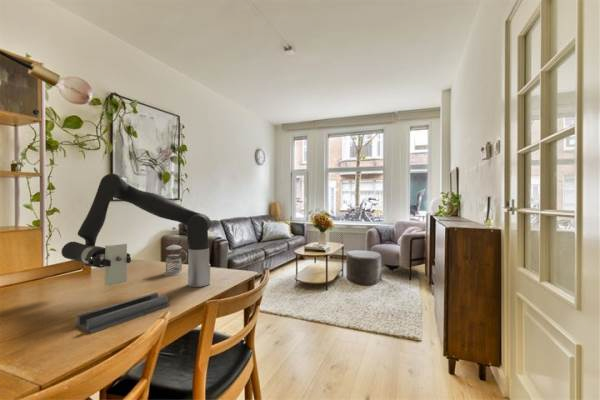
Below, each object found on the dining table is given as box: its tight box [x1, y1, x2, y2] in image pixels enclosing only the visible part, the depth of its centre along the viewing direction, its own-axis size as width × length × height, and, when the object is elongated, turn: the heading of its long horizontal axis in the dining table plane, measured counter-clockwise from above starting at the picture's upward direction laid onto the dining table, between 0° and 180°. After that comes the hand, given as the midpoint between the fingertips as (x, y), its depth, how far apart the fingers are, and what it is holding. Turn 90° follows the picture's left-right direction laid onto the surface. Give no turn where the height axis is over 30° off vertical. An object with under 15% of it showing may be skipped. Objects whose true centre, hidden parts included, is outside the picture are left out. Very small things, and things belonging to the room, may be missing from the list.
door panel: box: [104, 242, 128, 287], centre depth 101 cm, size 6×4×14 cm, turn 149°
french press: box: [163, 226, 188, 276], centre depth 152 cm, size 10×12×25 cm
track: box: [75, 292, 171, 334], centre depth 97 cm, size 26×10×4 cm, turn 150°
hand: (119, 261), depth 100 cm, fingers closed on door panel, 6 cm apart
